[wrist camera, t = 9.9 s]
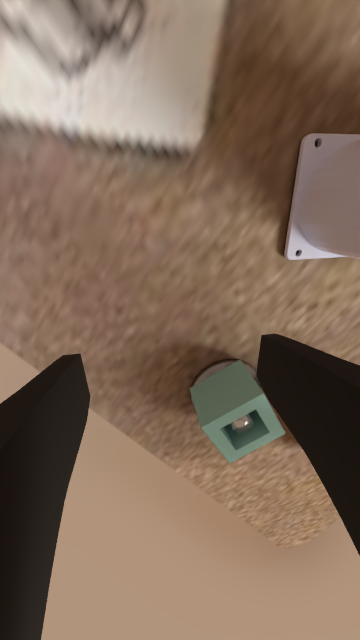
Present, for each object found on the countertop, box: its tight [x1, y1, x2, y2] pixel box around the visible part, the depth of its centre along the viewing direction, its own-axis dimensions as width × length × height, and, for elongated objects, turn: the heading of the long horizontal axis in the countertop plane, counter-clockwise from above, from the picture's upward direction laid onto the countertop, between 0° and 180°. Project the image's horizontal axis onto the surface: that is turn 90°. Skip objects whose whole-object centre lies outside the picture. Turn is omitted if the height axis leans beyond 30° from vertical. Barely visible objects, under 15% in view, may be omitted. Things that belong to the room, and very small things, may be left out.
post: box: [190, 359, 261, 433], centre depth 22 cm, size 7×7×4 cm
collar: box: [189, 360, 286, 463], centre depth 21 cm, size 5×5×4 cm
